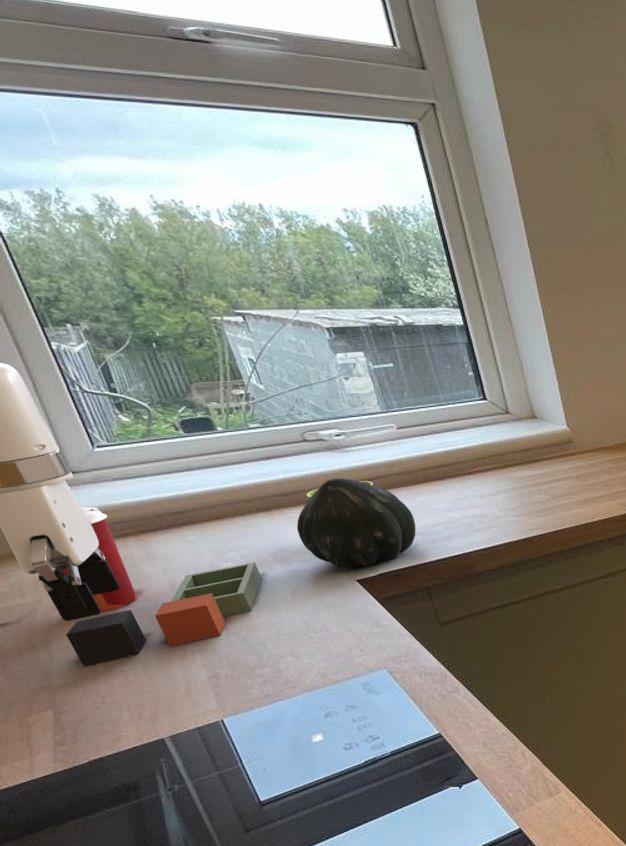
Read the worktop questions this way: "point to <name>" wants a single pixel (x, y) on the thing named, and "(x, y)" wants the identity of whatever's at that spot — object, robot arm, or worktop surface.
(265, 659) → the worktop surface
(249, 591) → the green tray
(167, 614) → the pad terracotta
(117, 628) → the pad charcoal
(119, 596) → the paper cup
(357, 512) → the squash
